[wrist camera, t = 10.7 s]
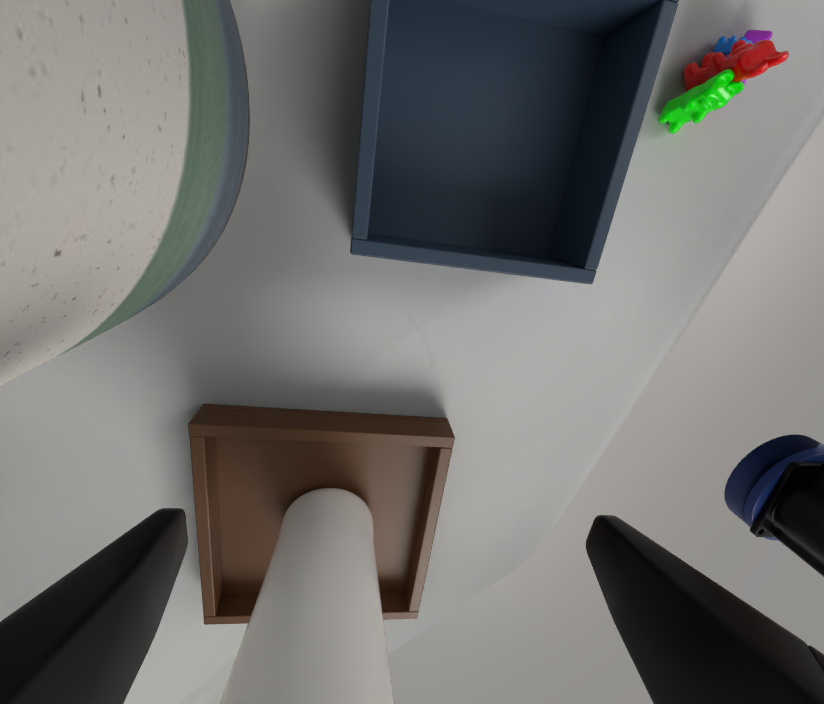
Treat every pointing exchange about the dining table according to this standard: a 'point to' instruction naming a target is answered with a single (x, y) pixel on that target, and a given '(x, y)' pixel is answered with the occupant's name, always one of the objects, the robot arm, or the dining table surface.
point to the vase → (111, 161)
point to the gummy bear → (721, 76)
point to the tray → (306, 471)
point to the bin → (501, 129)
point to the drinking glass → (317, 612)
